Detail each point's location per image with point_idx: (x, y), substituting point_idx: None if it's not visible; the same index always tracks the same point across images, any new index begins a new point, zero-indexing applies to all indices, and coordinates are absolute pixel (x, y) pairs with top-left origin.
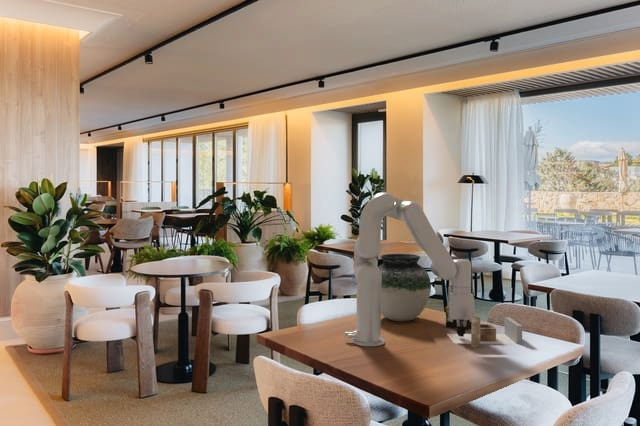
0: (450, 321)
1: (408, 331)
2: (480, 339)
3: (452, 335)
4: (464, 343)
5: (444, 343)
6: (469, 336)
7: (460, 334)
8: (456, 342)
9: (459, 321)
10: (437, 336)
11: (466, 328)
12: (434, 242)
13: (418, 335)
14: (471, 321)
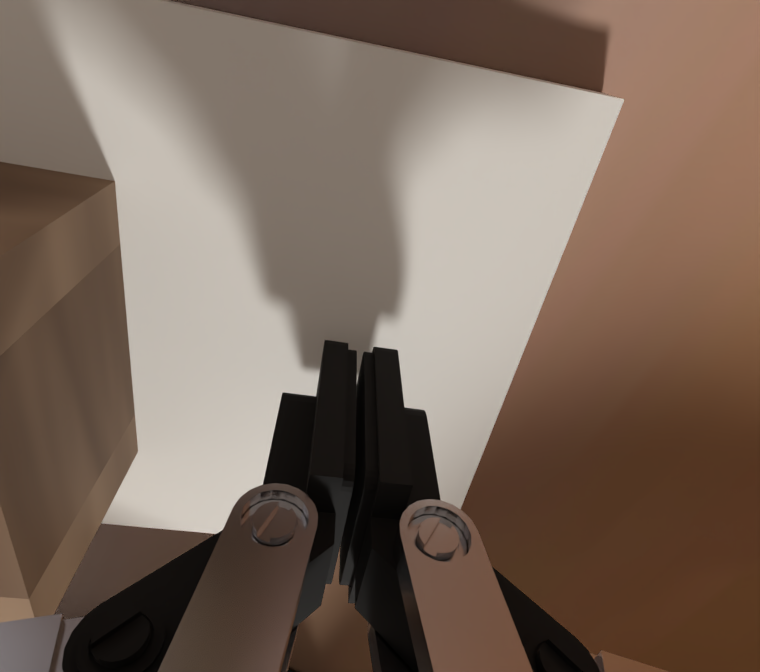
0: (657, 668)
1: (704, 661)
2: (17, 178)
3: None
4: (427, 58)
5: (660, 268)
6: (174, 438)
7: (386, 365)
8: (548, 157)
9: (432, 638)
10: (541, 532)
11: None
12: None
13: (714, 573)
14: (4, 630)
